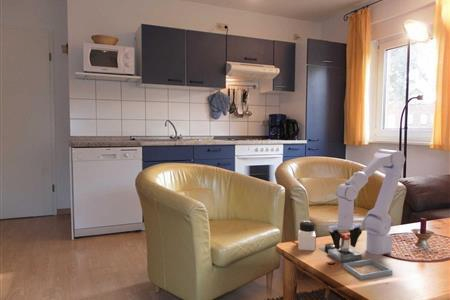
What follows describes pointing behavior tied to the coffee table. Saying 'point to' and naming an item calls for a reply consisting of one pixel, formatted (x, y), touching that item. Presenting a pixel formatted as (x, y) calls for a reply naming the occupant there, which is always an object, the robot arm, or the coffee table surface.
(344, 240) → the pin
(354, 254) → the block
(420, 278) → the coffee table surface
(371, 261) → the tray
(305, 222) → the medicine bottle
